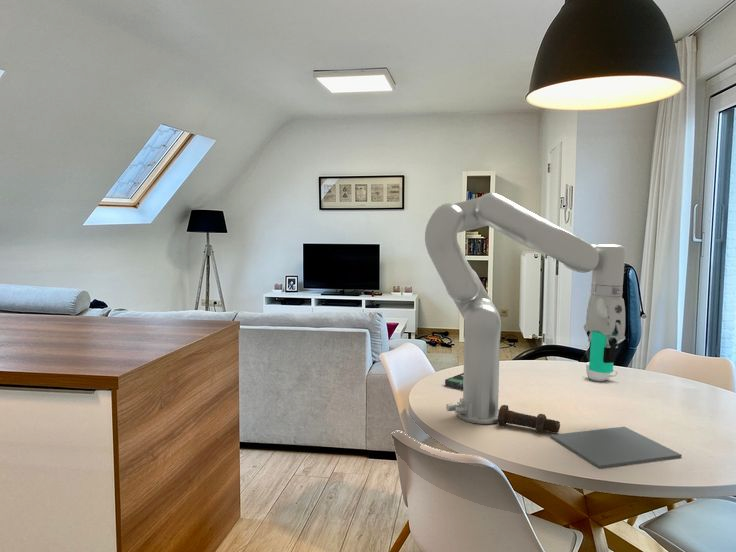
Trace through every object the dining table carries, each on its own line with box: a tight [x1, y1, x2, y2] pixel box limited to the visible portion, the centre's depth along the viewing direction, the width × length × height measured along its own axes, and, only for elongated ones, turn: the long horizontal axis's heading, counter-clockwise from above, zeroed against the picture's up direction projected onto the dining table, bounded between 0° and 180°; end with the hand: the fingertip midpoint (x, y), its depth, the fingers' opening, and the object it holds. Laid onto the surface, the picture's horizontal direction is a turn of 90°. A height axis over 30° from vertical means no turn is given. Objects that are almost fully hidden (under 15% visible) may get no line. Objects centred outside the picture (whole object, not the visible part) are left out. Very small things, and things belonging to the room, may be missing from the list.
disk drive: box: [444, 372, 464, 391], centre depth 179 cm, size 10×3×15 cm
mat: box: [549, 426, 683, 469], centre depth 128 cm, size 22×18×1 cm
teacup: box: [585, 361, 618, 382], centre depth 184 cm, size 10×8×5 cm
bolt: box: [497, 404, 561, 434], centre depth 139 cm, size 6×5×15 cm
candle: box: [588, 331, 614, 374], centre depth 142 cm, size 6×6×12 cm
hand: (601, 359), depth 142 cm, fingers closed on candle, 4 cm apart
